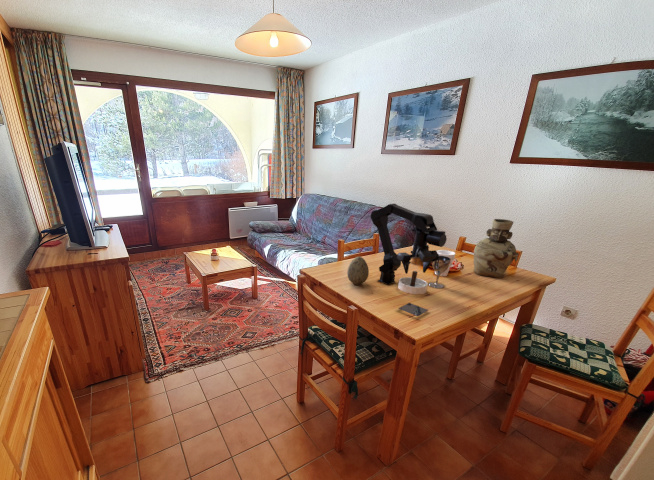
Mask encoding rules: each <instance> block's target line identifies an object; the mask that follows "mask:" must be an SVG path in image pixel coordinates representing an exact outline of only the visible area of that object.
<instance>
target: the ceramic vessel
mask: <svg viewBox="0 0 654 480" xmlns="http://www.w3.org/2000/svg"><path fill="white" fill-rule="evenodd" d="M513 225H514V220H510V219H503V218H494V219H493V220H492V224H491V228H488V229H487V230H486V233H485V234H486V236H487V237H486V238H483V239H481V240H479V241H478V242H477V244H476V245H475V247H474V249H473V268H474V269H473V271H474V273H475V274H476V275H478V276H481V277H490V278H496V279H500V278H503V276H504V275H505V274H506V272H507V269H508V268H509V266H510V265H512V264H513V261H514V262H517V261H518V260H519V255H520V253H519V252H518V251H517V247H516V245H515V244H514V243H513V242H512V241H511V239H512V238H513V232H512V231H511V229H512V227H513Z"/></svg>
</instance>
